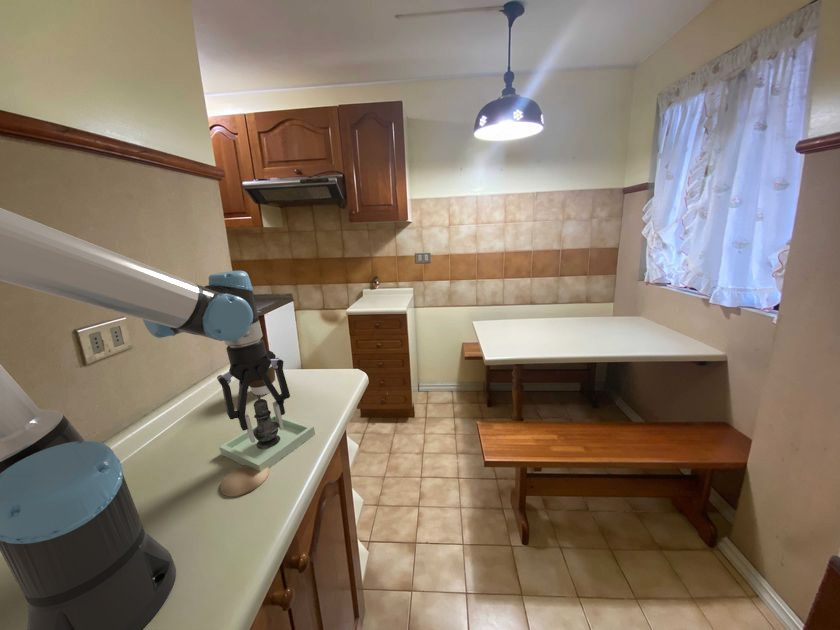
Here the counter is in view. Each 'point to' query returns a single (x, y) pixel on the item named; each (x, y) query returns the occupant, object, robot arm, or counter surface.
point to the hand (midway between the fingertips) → (266, 433)
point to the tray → (262, 458)
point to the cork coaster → (243, 481)
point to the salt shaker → (265, 426)
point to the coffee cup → (259, 386)
